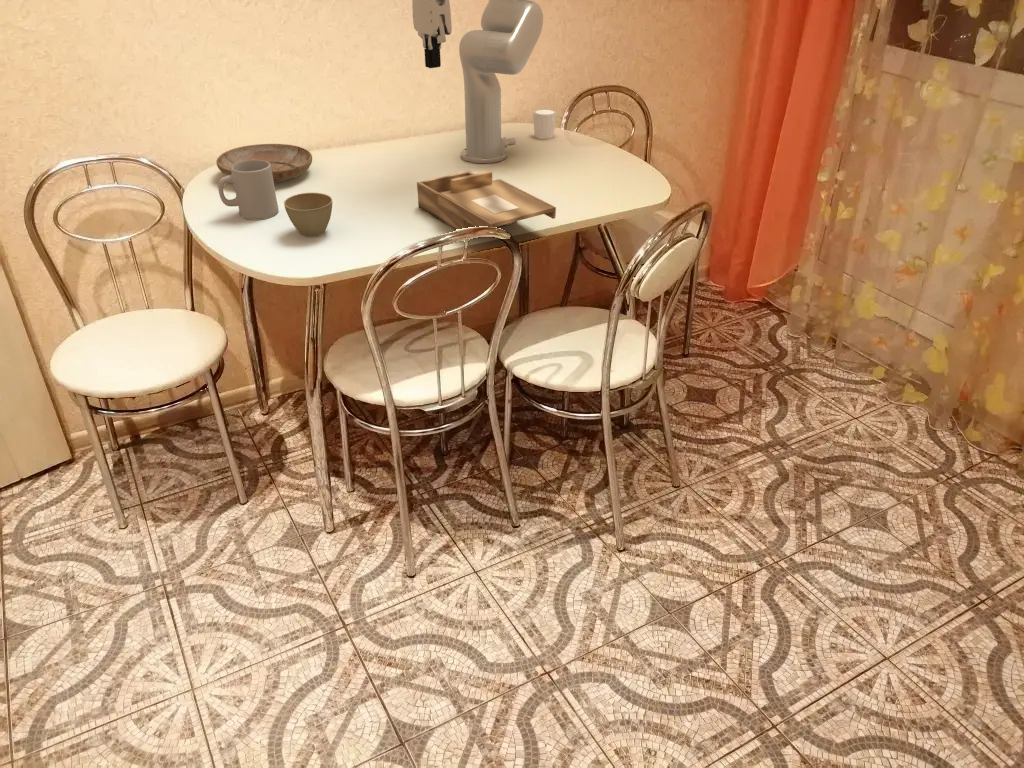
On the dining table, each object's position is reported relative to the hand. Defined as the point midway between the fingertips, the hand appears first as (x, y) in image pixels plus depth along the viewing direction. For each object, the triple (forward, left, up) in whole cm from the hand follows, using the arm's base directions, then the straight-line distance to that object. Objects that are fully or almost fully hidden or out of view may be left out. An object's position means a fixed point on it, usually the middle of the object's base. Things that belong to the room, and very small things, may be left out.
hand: (433, 66), depth 179 cm
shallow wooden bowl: (+34, -28, -28) cm, 52 cm away
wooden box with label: (+6, +35, -22) cm, 42 cm away
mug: (+46, -4, -27) cm, 54 cm away
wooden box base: (+6, +23, -27) cm, 36 cm away
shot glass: (-45, -16, -27) cm, 55 cm away
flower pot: (+39, +13, -27) cm, 49 cm away
